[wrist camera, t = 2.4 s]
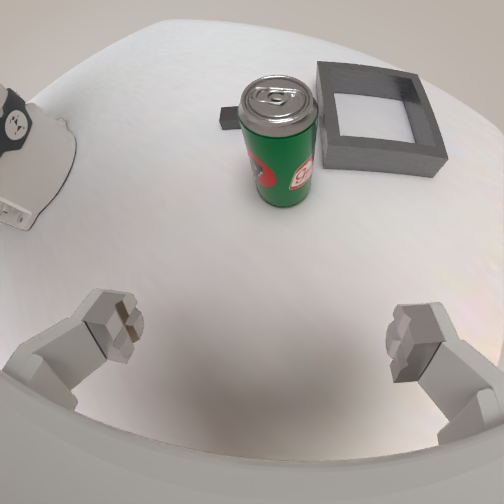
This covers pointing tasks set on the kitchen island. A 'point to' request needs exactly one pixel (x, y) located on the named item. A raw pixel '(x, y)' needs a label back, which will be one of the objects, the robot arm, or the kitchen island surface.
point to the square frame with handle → (371, 149)
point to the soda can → (280, 136)
